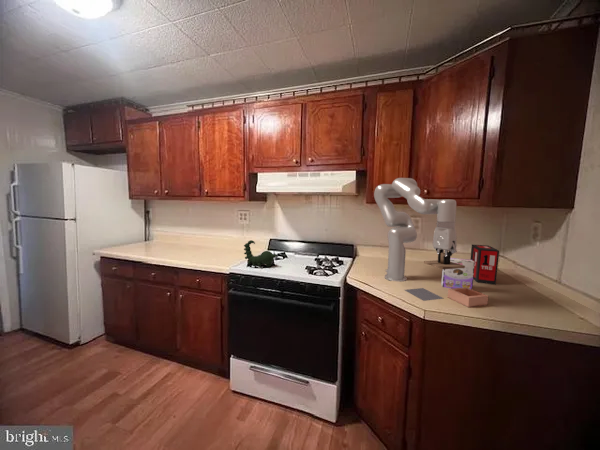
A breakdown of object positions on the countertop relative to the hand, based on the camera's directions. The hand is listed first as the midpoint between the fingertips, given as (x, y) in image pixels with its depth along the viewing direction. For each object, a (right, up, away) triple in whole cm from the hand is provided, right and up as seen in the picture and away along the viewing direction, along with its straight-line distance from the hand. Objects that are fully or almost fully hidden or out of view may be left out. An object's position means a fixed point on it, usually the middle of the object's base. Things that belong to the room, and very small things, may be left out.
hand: (443, 263), depth 116 cm
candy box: (+16, -17, +16) cm, 28 cm away
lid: (0, -1, 0) cm, 1 cm away
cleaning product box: (+42, -15, +32) cm, 55 cm away
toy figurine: (-98, -11, +55) cm, 113 cm away
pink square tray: (+10, -18, -2) cm, 21 cm away
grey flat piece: (-7, -17, +6) cm, 20 cm away
